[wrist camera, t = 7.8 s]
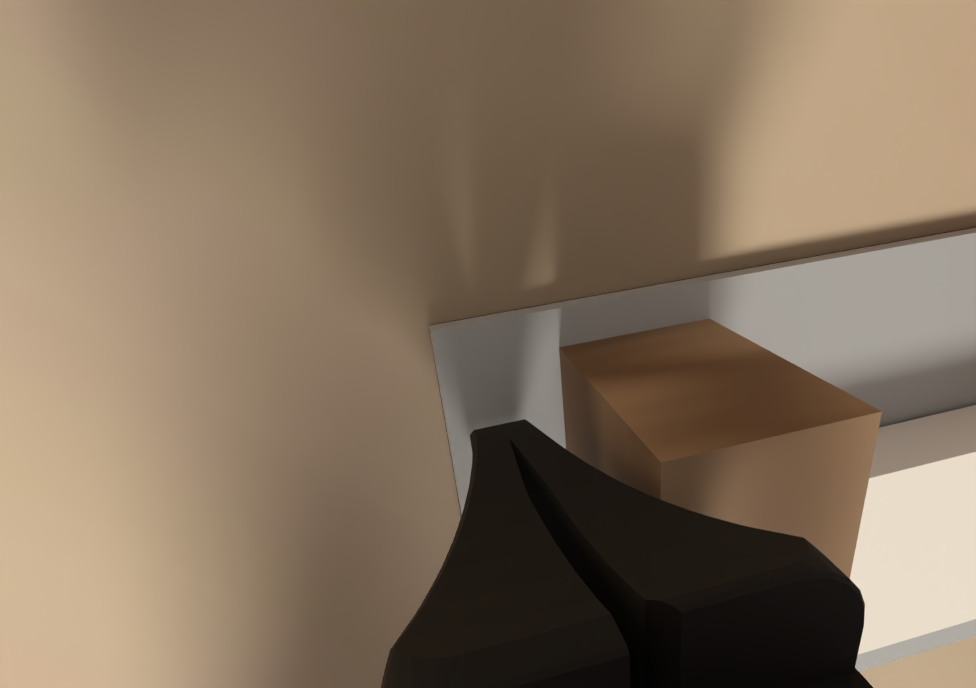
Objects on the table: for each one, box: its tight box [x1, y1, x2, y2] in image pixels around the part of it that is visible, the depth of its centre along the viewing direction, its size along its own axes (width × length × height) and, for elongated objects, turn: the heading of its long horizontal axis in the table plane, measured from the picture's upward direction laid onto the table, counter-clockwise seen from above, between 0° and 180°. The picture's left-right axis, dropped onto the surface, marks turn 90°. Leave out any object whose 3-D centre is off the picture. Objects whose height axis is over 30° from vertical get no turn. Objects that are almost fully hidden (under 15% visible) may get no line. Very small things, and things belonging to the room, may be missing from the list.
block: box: [559, 319, 882, 579], centre depth 12 cm, size 4×4×5 cm
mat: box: [429, 228, 976, 672], centre depth 17 cm, size 20×17×1 cm
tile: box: [850, 405, 976, 654], centre depth 16 cm, size 2×7×7 cm
